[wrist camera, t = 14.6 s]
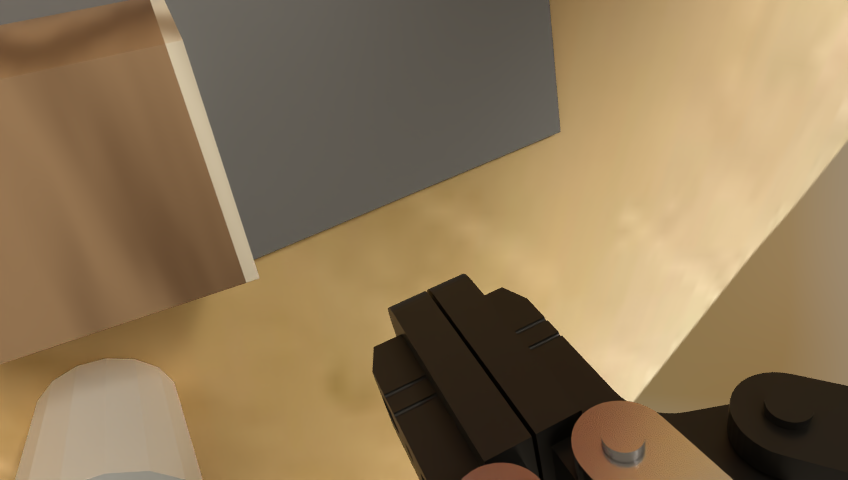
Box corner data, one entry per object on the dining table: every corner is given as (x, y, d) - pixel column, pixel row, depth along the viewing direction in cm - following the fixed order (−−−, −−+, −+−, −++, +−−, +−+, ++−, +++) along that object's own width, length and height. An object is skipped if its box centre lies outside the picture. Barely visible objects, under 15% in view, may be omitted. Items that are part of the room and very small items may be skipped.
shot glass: (5, 357, 24) (-25, 501, 18) (193, 336, 27) (216, 455, 21) (26, 483, 27) (6, 640, 22) (193, 452, 30) (213, 582, 24)
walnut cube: (182, 40, 15) (-170, 115, 13) (259, 278, 18) (-1, 365, 16) (161, -7, 20) (-86, 41, 18) (224, 184, 24) (25, 240, 22)
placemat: (526, -197, 22) (532, -199, 22) (555, 129, 30) (560, 131, 29) (-234, 9, 17) (-240, 11, 16) (36, 344, 24) (35, 350, 24)
